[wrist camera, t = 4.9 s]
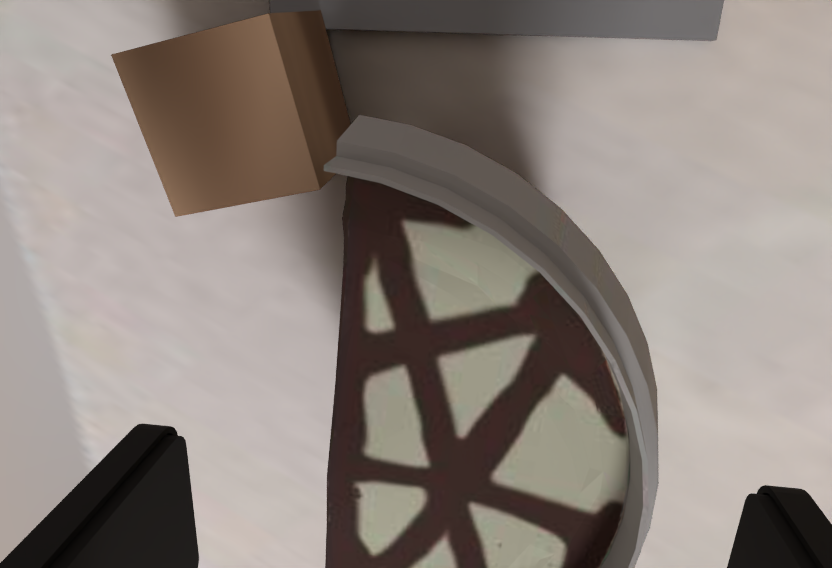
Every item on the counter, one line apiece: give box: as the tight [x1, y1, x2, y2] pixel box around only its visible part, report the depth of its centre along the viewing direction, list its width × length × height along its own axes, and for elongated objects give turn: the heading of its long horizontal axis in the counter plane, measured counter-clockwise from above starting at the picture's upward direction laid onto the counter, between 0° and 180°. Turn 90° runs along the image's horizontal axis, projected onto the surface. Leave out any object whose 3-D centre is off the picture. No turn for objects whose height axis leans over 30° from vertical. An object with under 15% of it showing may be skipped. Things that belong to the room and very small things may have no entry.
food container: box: [324, 115, 658, 568], centre depth 15 cm, size 12×6×10 cm, turn 175°
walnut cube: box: [111, 10, 351, 217], centre depth 16 cm, size 4×4×4 cm
